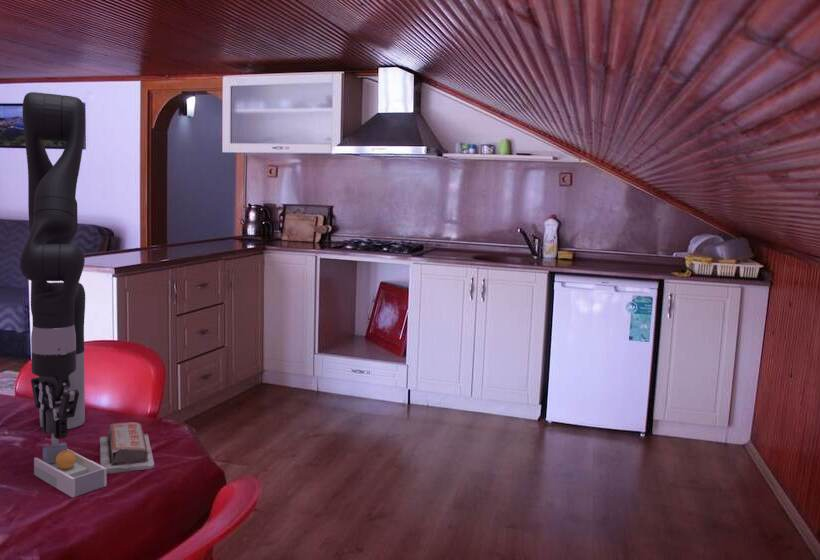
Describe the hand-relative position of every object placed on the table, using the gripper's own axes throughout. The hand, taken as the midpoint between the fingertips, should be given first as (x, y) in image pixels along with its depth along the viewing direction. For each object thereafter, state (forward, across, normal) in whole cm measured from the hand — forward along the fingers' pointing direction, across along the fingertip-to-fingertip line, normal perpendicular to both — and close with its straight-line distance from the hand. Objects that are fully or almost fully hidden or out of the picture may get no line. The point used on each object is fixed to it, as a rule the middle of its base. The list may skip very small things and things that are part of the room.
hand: (54, 434), depth 128 cm
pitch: (+8, +3, 0) cm, 8 cm away
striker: (+5, 0, 0) cm, 5 cm away
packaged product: (+8, +2, +14) cm, 16 cm away
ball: (+4, +4, 0) cm, 6 cm away
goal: (+8, +10, 0) cm, 12 cm away
